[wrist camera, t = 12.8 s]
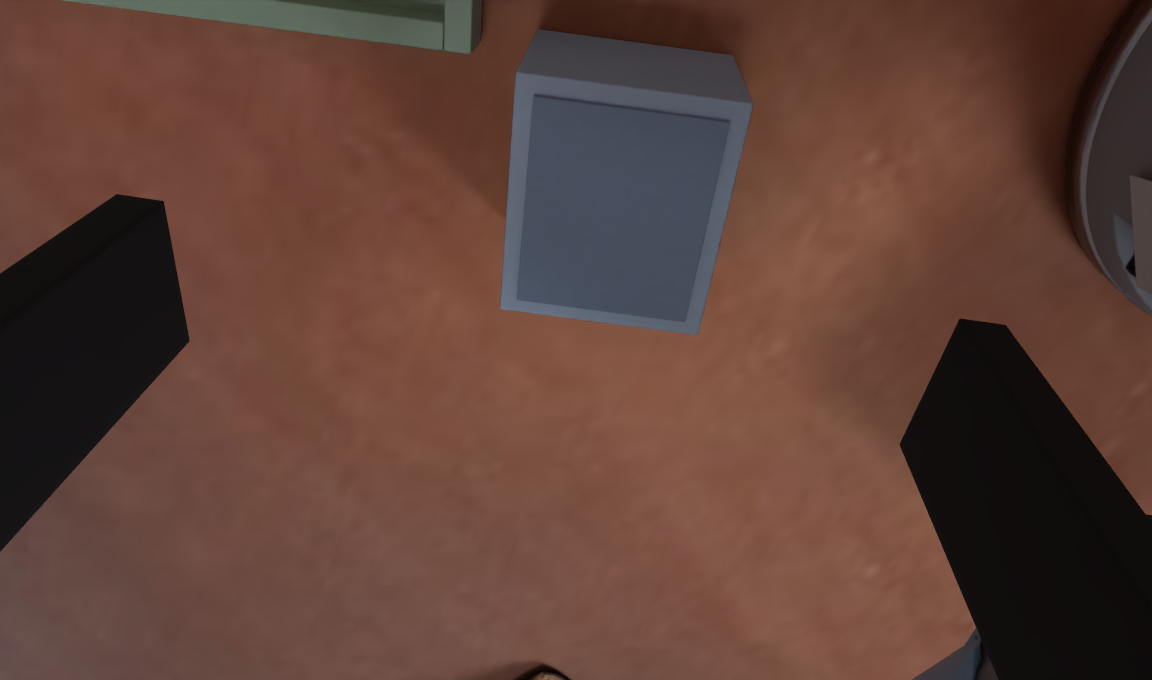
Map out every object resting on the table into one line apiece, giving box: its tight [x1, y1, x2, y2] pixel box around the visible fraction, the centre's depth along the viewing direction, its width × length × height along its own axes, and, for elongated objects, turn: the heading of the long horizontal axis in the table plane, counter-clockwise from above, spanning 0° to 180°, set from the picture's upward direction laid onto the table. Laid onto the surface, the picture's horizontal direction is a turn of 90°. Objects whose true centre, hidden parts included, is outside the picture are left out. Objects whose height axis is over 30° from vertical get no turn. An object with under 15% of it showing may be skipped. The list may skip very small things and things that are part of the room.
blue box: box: [500, 29, 753, 335], centre depth 23 cm, size 6×7×5 cm
